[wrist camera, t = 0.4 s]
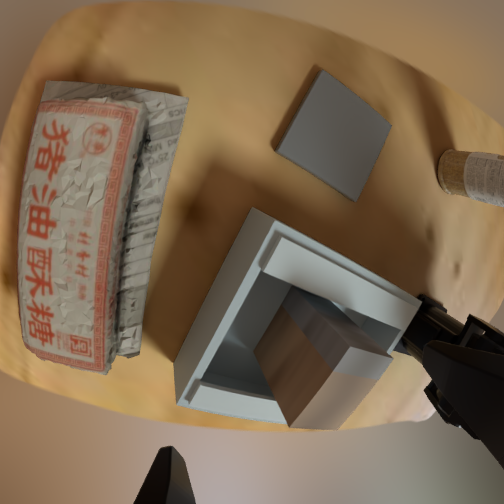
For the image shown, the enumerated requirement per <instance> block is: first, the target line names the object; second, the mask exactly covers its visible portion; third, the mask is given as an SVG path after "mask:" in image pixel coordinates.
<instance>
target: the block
mask: <svg viewBox="0 0 504 504" xmlns="http://www.w3.org/2000/svg"><path fill="white" fill-rule="evenodd" d="M253 352H254V355H255V357H256V359H257V361H258V363H259V365H260V368H261V370H262V372H263V374H264V376H265V378H266V380H267V383H268V385H269V387H270V389H271V391H272V393H273V395H274V397H275V400H276V402H277V404H278V406H279V408H280V410H281V412H282V414H283V416H284V418H285V420H286V422H287V424H288V426H289V428H302V429H321V430H338V429H339V428H340V426H341V425H342V424H343V423H344V422H345V421H346V420H347V418H348V417H349V416H350V415H351V414H352V413H353V411H354V410H355V409H356V408H357V407H358V405H359V404H360V403H361V402H362V400H363V399H364V398H365V397H366V395H367V394H368V393H369V392H370V390H371V389H372V388H373V386H374V385H375V384H376V382H377V381H378V380H379V378H380V377H381V376H382V374H383V373H384V372H385V370H386V369H387V367H388V366H389V364H390V363H391V362H392V360H393V358H392V357H391V356H390V355H389V354H388V353H387V352H386V351H385V350H384V349H383V348H382V347H381V346H379V345H378V344H377V343H376V342H375V341H374V340H373V339H372V338H371V337H370V336H369V335H368V334H366V333H365V332H364V331H363V330H362V329H361V328H360V327H359V326H358V325H357V324H356V323H354V322H353V321H352V320H351V319H350V318H349V317H348V316H347V315H346V314H345V313H343V312H342V311H341V310H340V309H339V308H338V307H337V306H336V305H335V304H334V303H332V302H331V301H328V300H326V299H323V298H321V297H319V296H316V295H314V294H312V293H309V292H307V291H305V290H302V289H300V288H297V287H295V286H293V285H292V286H291V288H290V289H289V291H288V293H287V295H286V296H285V298H284V300H283V302H282V303H281V305H280V307H279V309H278V310H277V312H276V314H275V315H274V317H273V319H272V321H271V322H270V324H269V326H268V327H267V329H266V331H265V332H264V334H263V336H262V337H261V339H260V341H259V342H258V344H257V346H256V347H255V349H254V351H253Z"/></svg>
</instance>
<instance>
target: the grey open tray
mask: <svg viewBox="0 0 504 504" xmlns="http://www.w3.org/2000/svg"><path fill="white" fill-rule="evenodd" d="M292 285H293V286H295V287H297V288H300V289H302V290H305V291H307V292H309V293H312V294H314V295H316V296H319V297H321V298H323V299H326V300H328V301H331V302H332V303H334V304H335V305H336V306H337V307H338V308H339V309H340V310H341V311H342V312H343V313H345V314H346V315H347V316H348V317H349V318H350V319H351V320H352V321H353V322H354V323H356V324H357V325H358V326H359V327H360V328H361V329H362V330H363V331H364V332H365V333H366V334H368V335H369V336H370V337H371V338H372V339H373V340H374V341H375V342H376V343H377V344H378V345H379V346H381V347H382V348H383V349H384V350H385V351H386V352H387V353H388V354H389V355H390V354H391V352H392V351H393V349H394V348H395V346H396V345H397V343H398V341H399V340H400V338H401V337H402V335H403V334H404V332H405V330H406V329H407V327H408V326H409V324H410V322H411V321H412V319H413V317H414V316H415V314H416V312H417V310H418V309H419V307H420V305H421V303H422V302H421V301H420V300H418V299H417V298H415V297H414V296H412V295H410V294H409V293H407V292H406V291H404V290H402V289H401V288H399V287H397V286H396V285H394V284H393V283H391V282H389V281H388V280H386V279H384V278H382V277H381V276H379V275H377V274H375V273H374V272H372V271H370V270H368V269H367V268H365V267H363V266H361V265H360V264H358V263H356V262H354V261H353V260H351V259H349V258H347V257H345V256H344V255H342V254H340V253H338V252H336V251H335V250H333V249H331V248H329V247H327V246H326V245H324V244H322V243H320V242H318V241H316V240H314V239H313V238H311V237H309V236H307V235H305V234H303V233H301V232H300V231H298V230H296V229H294V228H292V227H290V226H288V225H286V224H285V223H283V222H281V221H279V220H277V219H275V218H273V217H271V216H269V215H267V214H265V213H263V212H261V211H260V210H258V209H256V208H254V207H252V208H251V210H250V212H249V214H248V216H247V217H246V219H245V221H244V223H243V225H242V227H241V229H240V231H239V233H238V235H237V237H236V239H235V241H234V243H233V245H232V247H231V249H230V250H229V252H228V254H227V256H226V258H225V260H224V262H223V264H222V266H221V268H220V270H219V272H218V274H217V276H216V278H215V280H214V282H213V284H212V286H211V288H210V290H209V292H208V294H207V296H206V298H205V300H204V302H203V304H202V306H201V308H200V310H199V312H198V314H197V316H196V318H195V320H194V322H193V324H192V326H191V328H190V330H189V332H188V335H187V337H186V339H185V341H184V343H183V345H182V347H181V349H180V351H179V353H178V355H177V357H176V359H175V361H174V363H173V365H174V381H175V394H176V405H179V406H183V407H187V408H191V409H195V410H200V411H205V412H209V413H214V414H220V415H225V416H231V417H236V418H243V419H249V420H256V421H264V422H272V423H281V424H287V422H286V420H285V418H284V416H283V414H282V412H281V410H280V408H279V406H278V404H277V402H276V400H275V397H274V395H273V393H272V391H271V389H270V387H269V385H268V383H267V380H266V378H265V376H264V374H263V372H262V370H261V368H260V365H259V363H258V361H257V359H256V357H255V355H254V352H253V351H254V349H255V347H256V346H257V344H258V342H259V341H260V339H261V337H262V336H263V334H264V332H265V331H266V329H267V327H268V326H269V324H270V322H271V321H272V319H273V317H274V315H275V314H276V312H277V310H278V309H279V307H280V305H281V303H282V302H283V300H284V298H285V296H286V295H287V293H288V291H289V289H290V288H291V286H292Z"/></svg>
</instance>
